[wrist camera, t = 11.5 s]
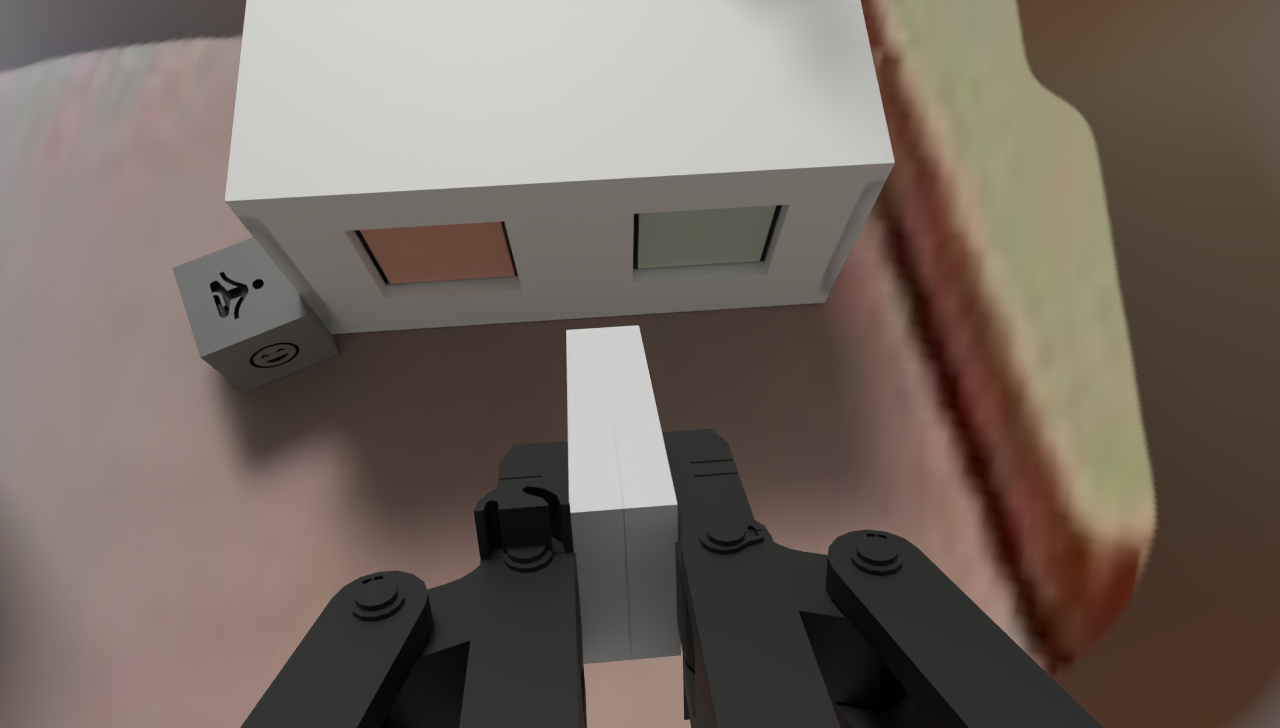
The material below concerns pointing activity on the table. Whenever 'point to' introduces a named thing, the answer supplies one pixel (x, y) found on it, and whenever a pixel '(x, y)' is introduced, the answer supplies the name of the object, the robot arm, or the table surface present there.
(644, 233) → the sage button
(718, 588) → the robot arm
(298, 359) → the dice cube
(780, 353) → the table surface
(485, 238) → the terracotta button
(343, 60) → the box
